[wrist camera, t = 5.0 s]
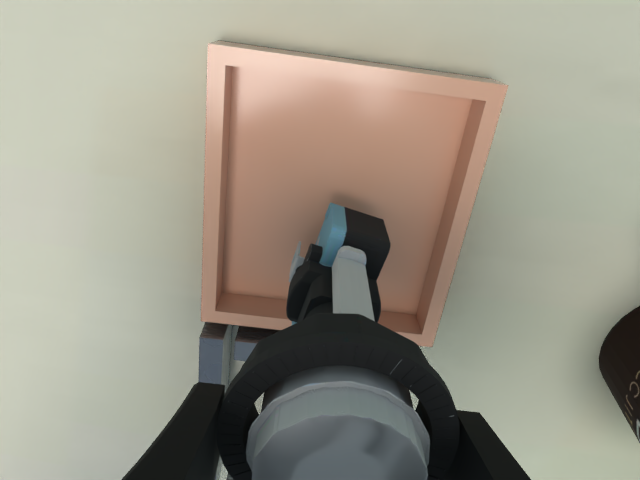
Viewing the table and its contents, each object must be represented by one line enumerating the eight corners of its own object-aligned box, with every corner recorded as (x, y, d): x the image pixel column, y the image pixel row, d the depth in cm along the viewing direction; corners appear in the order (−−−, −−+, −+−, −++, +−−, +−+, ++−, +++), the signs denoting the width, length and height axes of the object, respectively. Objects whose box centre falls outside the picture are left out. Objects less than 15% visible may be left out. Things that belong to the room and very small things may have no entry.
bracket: (206, 454, 27) (195, 493, 24) (211, 305, 22) (199, 337, 20) (356, 469, 27) (358, 508, 25) (390, 326, 23) (396, 359, 21)
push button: (359, 356, 21) (387, 618, 11) (240, 322, 20) (168, 571, 11) (421, 220, 18) (521, 419, 9) (287, 176, 17) (244, 341, 8)
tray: (210, 298, 22) (200, 321, 21) (218, 40, 17) (208, 43, 16) (424, 322, 23) (432, 346, 21) (491, 78, 18) (508, 85, 16)
